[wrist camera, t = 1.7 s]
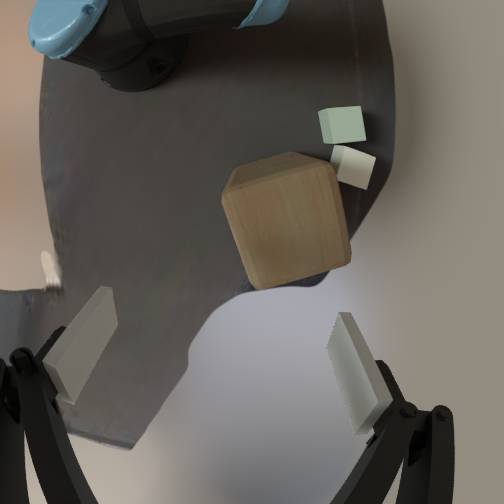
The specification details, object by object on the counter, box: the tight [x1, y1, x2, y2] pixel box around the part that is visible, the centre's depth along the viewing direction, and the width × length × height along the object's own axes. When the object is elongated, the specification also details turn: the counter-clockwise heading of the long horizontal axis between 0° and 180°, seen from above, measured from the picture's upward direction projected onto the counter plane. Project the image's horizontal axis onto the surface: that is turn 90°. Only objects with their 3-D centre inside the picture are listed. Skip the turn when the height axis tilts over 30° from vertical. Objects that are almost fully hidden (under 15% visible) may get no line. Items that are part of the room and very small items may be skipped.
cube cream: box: [330, 145, 376, 190], centre depth 38 cm, size 5×5×5 cm
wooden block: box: [222, 151, 352, 290], centre depth 32 cm, size 10×10×20 cm
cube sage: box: [318, 106, 366, 144], centre depth 35 cm, size 5×5×5 cm
